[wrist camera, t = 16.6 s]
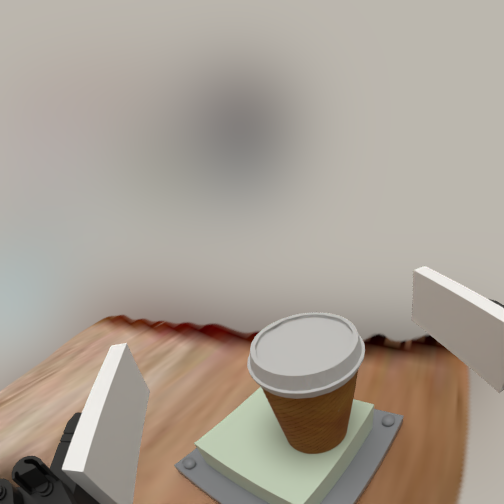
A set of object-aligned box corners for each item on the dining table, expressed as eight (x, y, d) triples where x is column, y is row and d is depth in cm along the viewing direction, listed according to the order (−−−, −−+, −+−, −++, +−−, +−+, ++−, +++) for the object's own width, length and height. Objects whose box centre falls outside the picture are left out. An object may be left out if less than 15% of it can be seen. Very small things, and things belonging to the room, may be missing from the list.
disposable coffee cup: (346, 389, 30) (340, 300, 27) (376, 449, 21) (385, 356, 18) (266, 410, 30) (241, 324, 27) (276, 477, 21) (247, 393, 18)
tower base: (178, 471, 28) (159, 445, 27) (277, 385, 42) (270, 356, 40) (312, 557, 15) (308, 546, 13) (402, 422, 28) (407, 391, 27)
